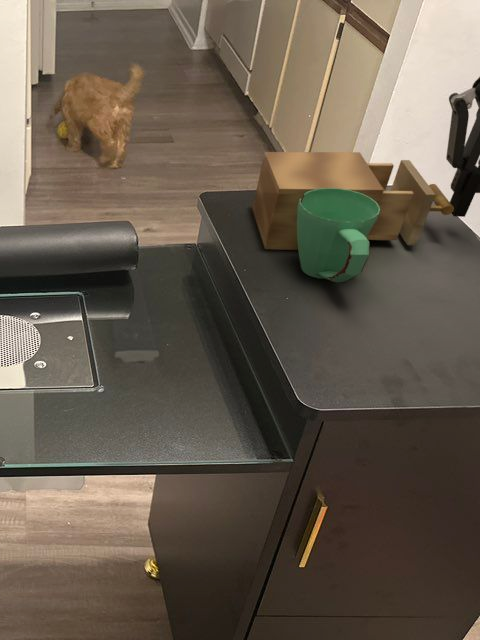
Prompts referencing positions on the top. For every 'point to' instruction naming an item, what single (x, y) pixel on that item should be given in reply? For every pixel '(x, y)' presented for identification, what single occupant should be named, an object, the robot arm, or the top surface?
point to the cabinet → (304, 188)
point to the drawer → (405, 203)
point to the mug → (334, 232)
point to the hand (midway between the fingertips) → (456, 212)
